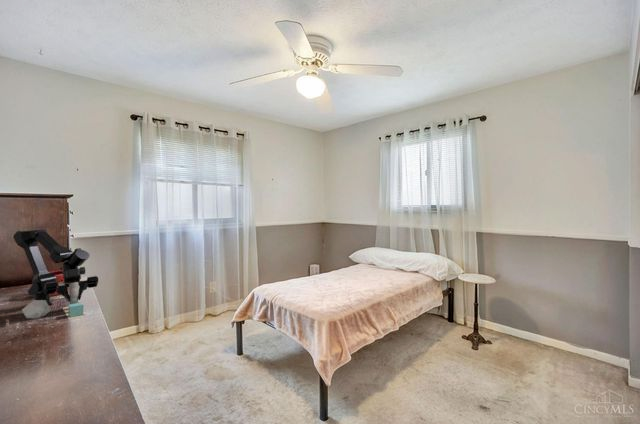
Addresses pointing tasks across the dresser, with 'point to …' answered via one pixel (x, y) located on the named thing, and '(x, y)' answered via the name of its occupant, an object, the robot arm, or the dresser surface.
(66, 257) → the robot arm
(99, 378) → the dresser surface
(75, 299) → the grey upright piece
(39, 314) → the die
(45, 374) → the dresser surface
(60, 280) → the plant pot
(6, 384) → the dresser surface
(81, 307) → the cube
